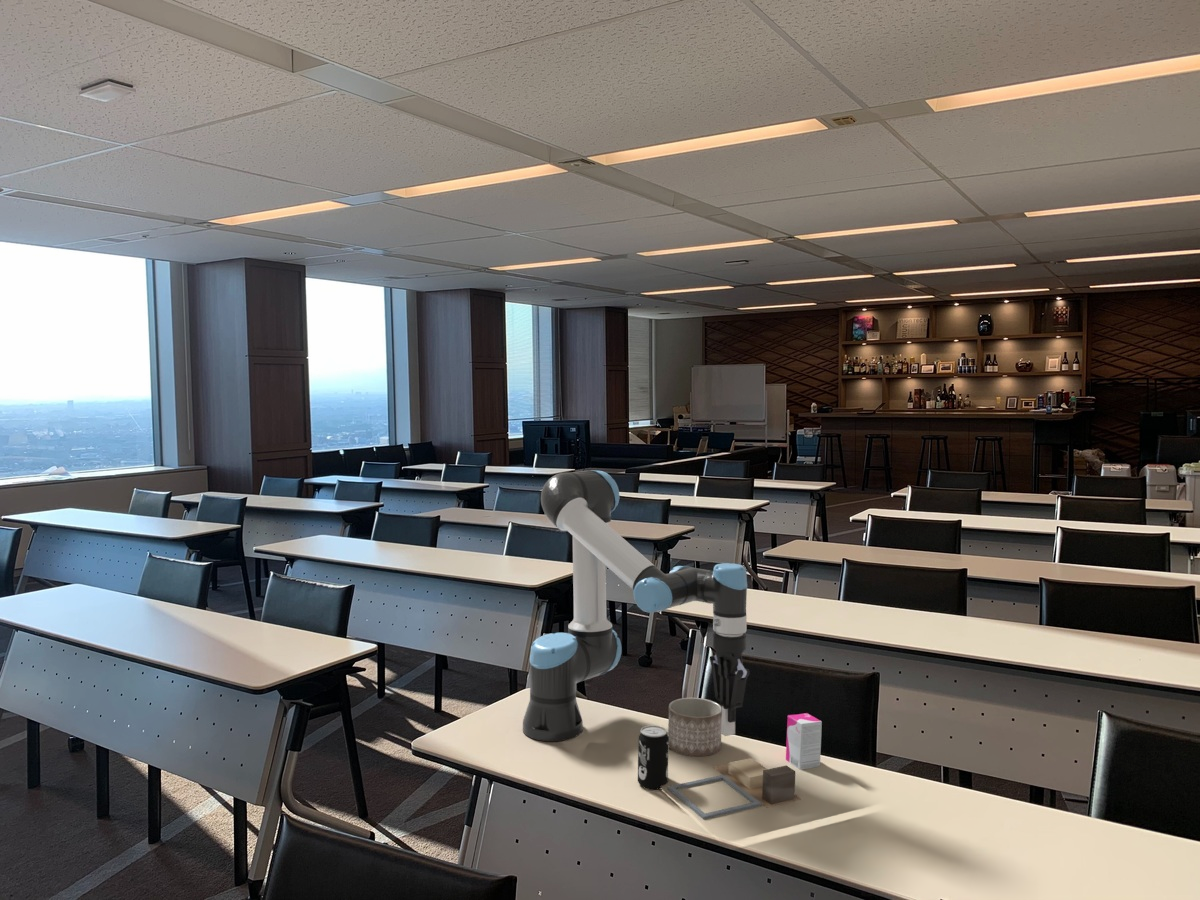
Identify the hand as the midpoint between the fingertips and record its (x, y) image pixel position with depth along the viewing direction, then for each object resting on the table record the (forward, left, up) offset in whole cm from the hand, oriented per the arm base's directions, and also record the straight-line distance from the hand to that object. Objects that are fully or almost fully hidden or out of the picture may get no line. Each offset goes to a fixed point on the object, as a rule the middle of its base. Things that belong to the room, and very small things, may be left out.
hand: (728, 733), depth 192 cm
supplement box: (+7, +16, -8) cm, 19 cm away
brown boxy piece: (+11, 0, -8) cm, 13 cm away
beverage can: (+1, -20, -8) cm, 22 cm away
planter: (-11, -2, -8) cm, 14 cm away
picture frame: (+13, -12, -8) cm, 19 cm away
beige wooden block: (+9, 0, -7) cm, 11 cm away
